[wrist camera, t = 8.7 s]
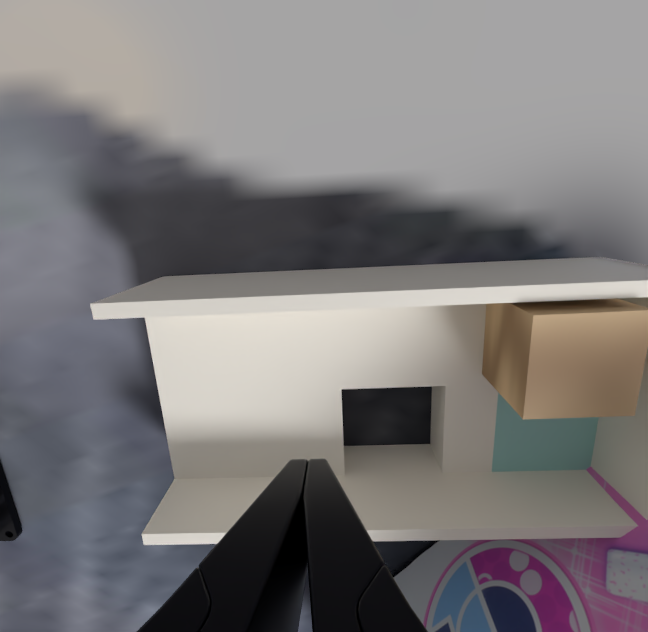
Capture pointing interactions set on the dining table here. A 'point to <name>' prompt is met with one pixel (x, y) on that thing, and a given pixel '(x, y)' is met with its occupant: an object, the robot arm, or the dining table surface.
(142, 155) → the dining table surface
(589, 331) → the oak block
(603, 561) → the gum box
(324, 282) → the channel
